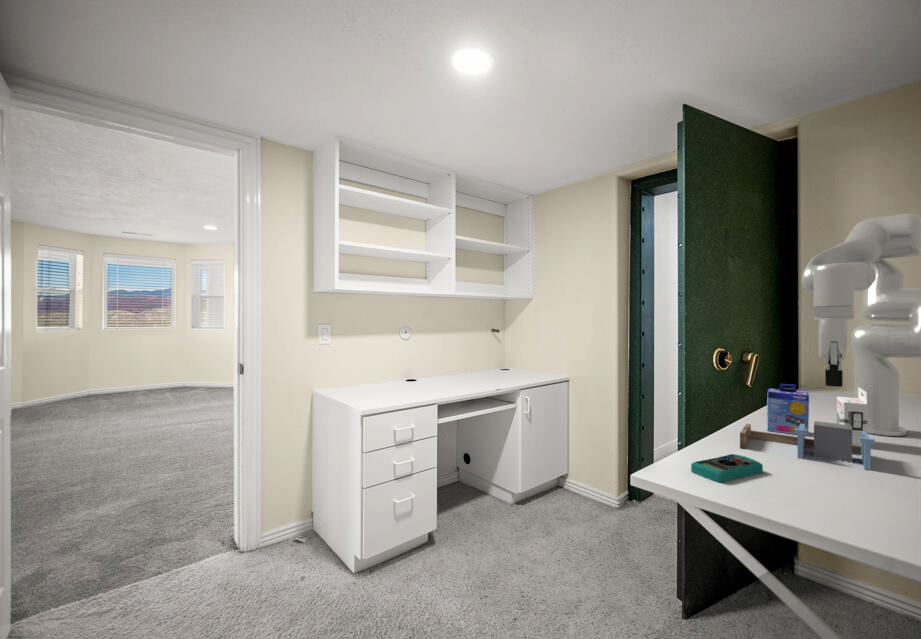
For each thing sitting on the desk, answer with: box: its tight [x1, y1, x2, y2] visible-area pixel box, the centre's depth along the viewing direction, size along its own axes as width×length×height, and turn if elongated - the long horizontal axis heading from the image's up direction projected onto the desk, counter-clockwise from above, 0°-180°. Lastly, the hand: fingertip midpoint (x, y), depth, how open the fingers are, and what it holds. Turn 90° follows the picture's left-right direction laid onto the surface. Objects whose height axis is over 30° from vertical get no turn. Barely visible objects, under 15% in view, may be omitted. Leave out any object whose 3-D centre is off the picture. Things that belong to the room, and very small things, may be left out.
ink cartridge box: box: [766, 383, 810, 437], centre depth 127 cm, size 10×6×14 cm, turn 54°
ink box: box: [836, 387, 867, 446], centre depth 116 cm, size 8×5×15 cm, turn 149°
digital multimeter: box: [690, 453, 764, 484], centre depth 97 cm, size 7×15×3 cm, turn 113°
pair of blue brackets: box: [794, 424, 876, 471], centre depth 105 cm, size 12×14×7 cm
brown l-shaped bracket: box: [739, 423, 861, 456], centre depth 110 cm, size 13×25×4 cm, turn 49°
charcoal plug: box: [813, 420, 853, 463], centre depth 105 cm, size 4×7×8 cm, turn 49°
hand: (833, 385), depth 107 cm, fingers closed
